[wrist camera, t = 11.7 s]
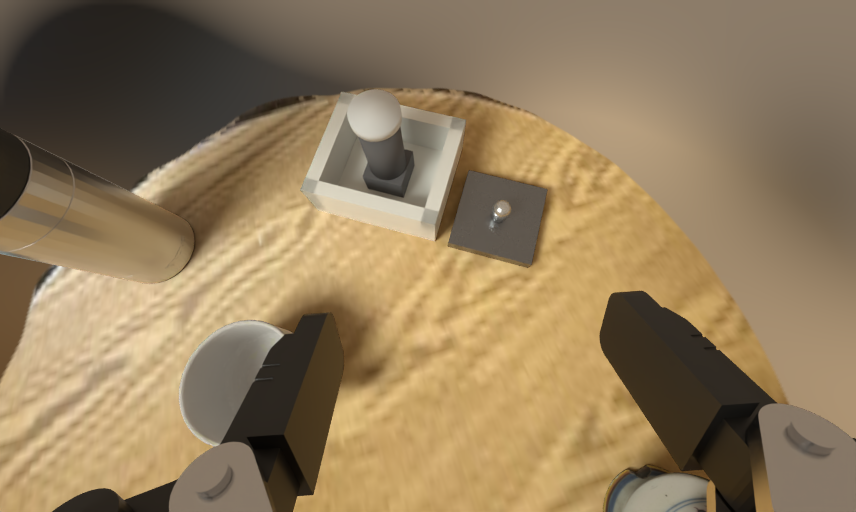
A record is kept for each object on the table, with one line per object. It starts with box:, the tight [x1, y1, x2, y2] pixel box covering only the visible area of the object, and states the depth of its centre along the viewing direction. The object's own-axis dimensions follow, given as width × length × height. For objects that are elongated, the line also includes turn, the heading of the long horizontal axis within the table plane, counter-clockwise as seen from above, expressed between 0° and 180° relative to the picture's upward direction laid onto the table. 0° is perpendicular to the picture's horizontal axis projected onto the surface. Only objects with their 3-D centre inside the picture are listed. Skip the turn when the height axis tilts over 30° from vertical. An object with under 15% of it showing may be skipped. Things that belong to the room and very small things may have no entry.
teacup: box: [179, 320, 292, 446], centre depth 33 cm, size 14×11×8 cm
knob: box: [347, 89, 415, 198], centre depth 36 cm, size 5×5×12 cm
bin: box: [300, 92, 466, 241], centre depth 40 cm, size 16×14×6 cm
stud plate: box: [448, 170, 547, 268], centre depth 39 cm, size 10×10×4 cm
